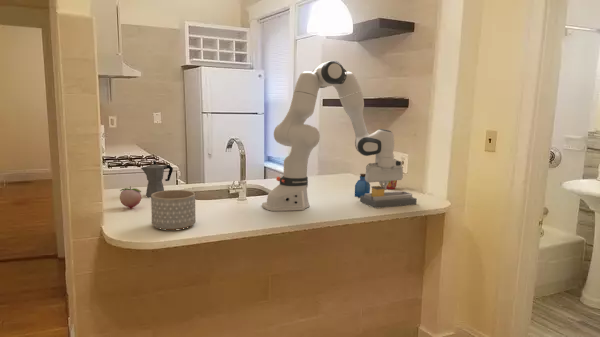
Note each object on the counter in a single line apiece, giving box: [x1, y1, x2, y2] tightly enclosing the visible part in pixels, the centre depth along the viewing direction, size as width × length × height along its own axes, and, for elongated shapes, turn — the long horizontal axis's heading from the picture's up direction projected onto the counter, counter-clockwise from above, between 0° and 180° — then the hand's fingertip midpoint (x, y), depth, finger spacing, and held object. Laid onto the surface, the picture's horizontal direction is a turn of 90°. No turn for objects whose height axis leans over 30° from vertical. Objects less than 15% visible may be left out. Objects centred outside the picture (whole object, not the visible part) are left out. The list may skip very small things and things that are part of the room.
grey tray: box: [359, 190, 417, 209], centre depth 222 cm, size 24×14×5 cm, turn 114°
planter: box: [150, 189, 197, 231], centre depth 173 cm, size 16×16×13 cm
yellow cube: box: [371, 185, 386, 197], centre depth 219 cm, size 4×5×5 cm
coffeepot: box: [140, 160, 174, 198], centre depth 224 cm, size 15×9×18 cm, turn 116°
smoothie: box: [386, 180, 398, 190], centre depth 258 cm, size 8×8×20 cm
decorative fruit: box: [119, 185, 142, 209], centre depth 198 cm, size 9×8×10 cm
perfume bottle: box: [354, 173, 371, 198], centre depth 236 cm, size 6×6×12 cm
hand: (383, 190), depth 220 cm, fingers closed
